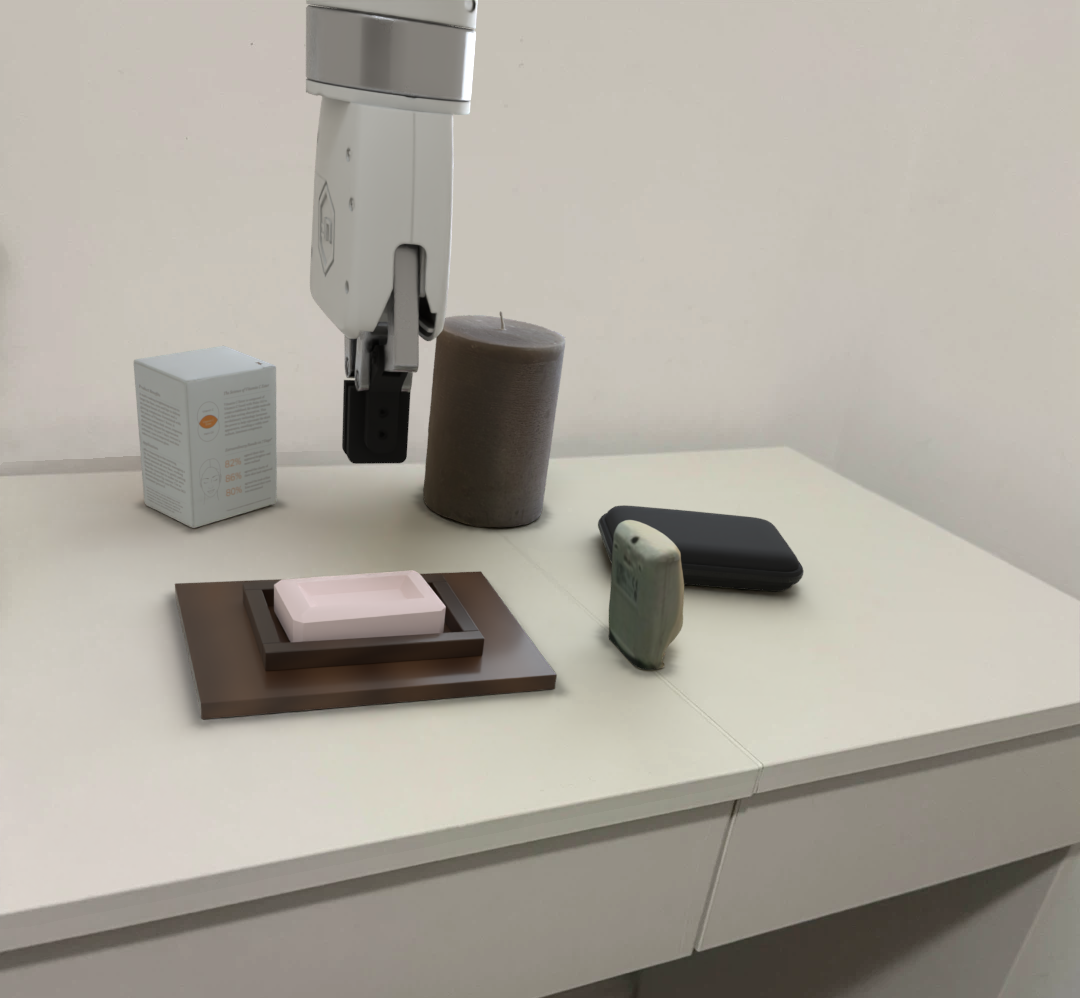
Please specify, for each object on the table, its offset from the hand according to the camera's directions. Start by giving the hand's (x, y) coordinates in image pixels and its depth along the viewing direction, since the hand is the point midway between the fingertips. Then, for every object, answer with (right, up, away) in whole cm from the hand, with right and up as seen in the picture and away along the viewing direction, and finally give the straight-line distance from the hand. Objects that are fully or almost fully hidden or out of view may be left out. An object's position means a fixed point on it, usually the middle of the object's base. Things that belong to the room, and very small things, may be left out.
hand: (374, 457), depth 58 cm
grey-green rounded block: (+15, -10, +10) cm, 21 cm away
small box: (-15, +1, +21) cm, 26 cm away
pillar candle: (+4, +3, +28) cm, 28 cm away
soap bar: (-2, -9, +6) cm, 11 cm away
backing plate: (-2, -10, +6) cm, 12 cm away
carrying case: (+21, -2, +24) cm, 32 cm away
